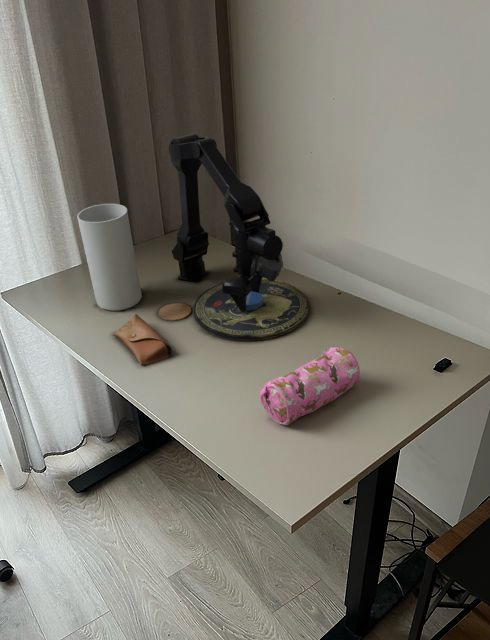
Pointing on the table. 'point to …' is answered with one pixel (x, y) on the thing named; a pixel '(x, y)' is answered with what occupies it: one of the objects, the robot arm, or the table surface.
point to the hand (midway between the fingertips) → (249, 303)
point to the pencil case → (310, 385)
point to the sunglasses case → (143, 341)
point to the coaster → (174, 311)
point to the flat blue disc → (254, 301)
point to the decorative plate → (251, 312)
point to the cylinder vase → (110, 256)
